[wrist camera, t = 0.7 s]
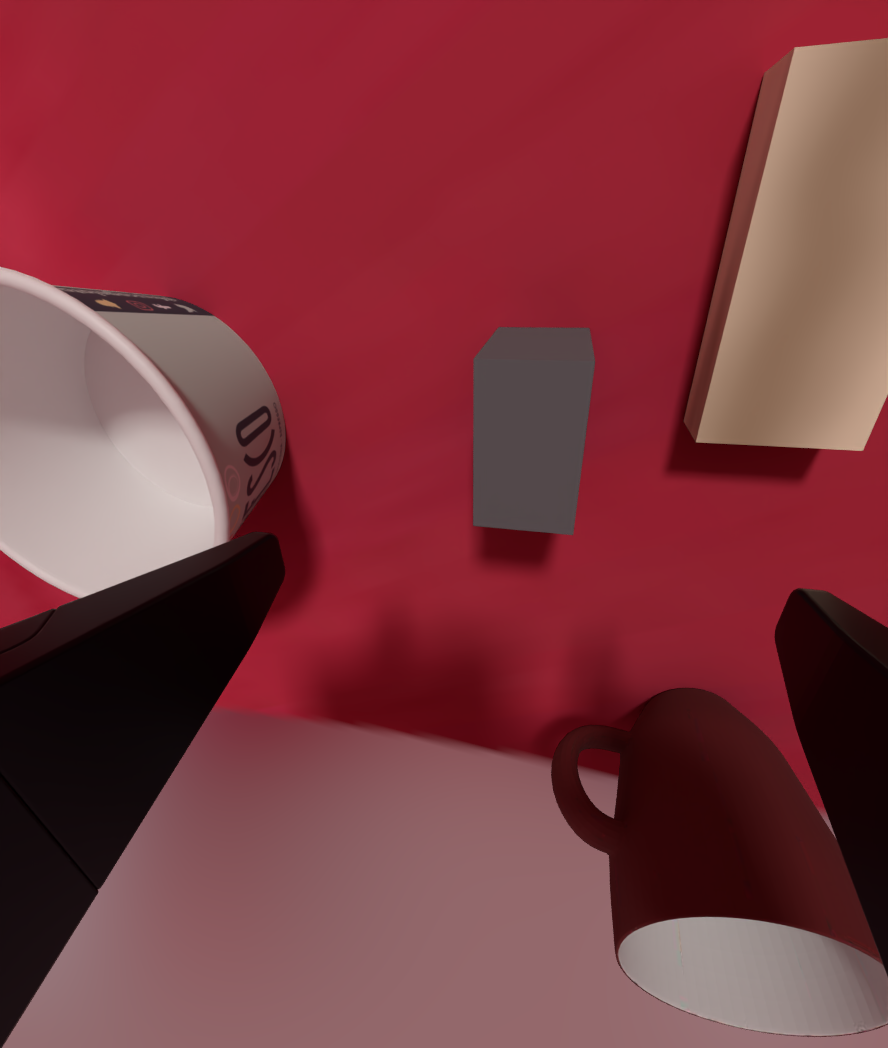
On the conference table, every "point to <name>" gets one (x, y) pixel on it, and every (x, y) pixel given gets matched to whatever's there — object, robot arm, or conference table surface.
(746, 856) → the mug
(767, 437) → the notch board
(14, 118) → the conference table surface
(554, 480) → the grey block
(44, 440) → the food container
